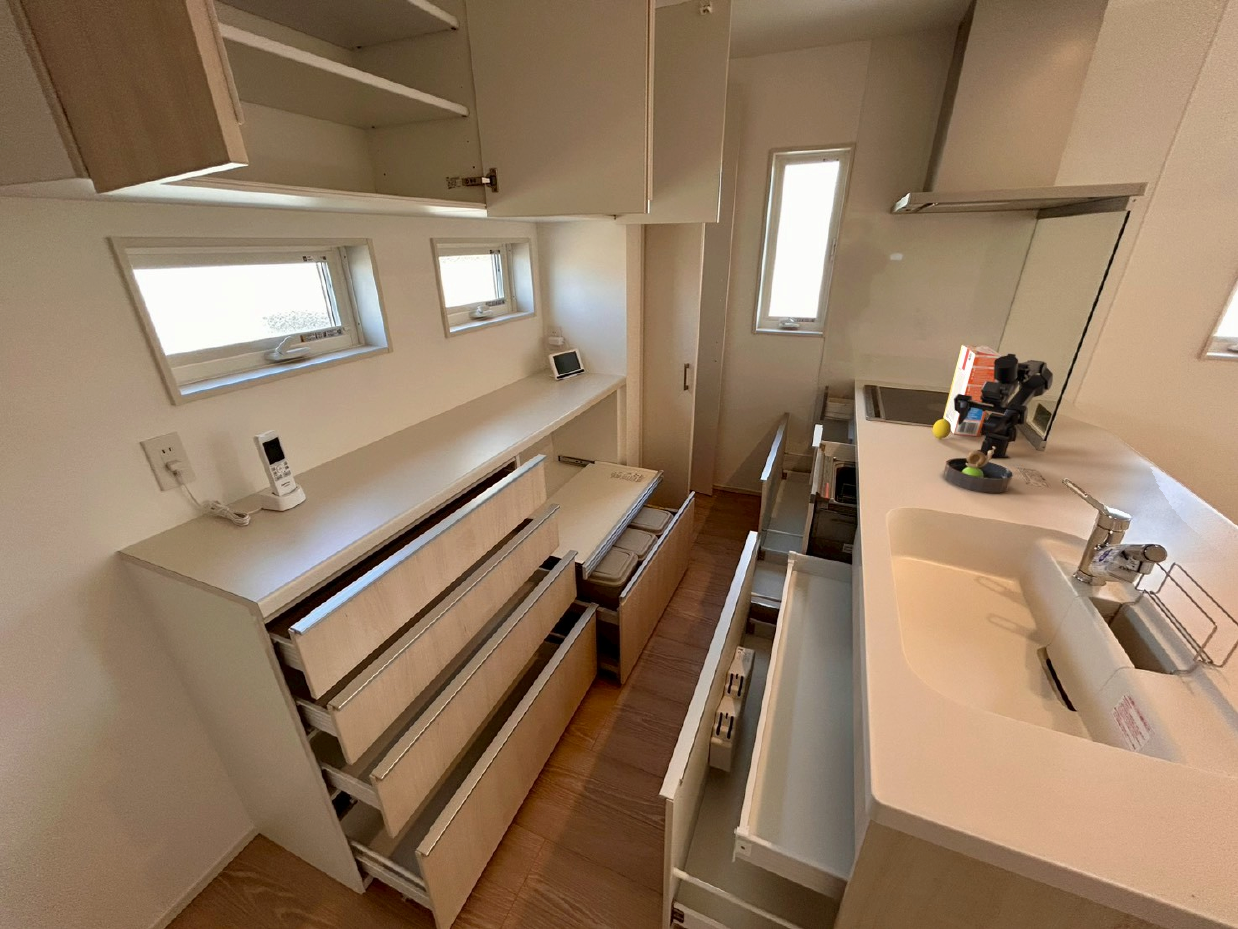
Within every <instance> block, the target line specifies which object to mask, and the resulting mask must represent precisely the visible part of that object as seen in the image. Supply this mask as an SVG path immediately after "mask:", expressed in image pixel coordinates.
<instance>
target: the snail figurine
mask: <svg viewBox="0 0 1238 929" xmlns="http://www.w3.org/2000/svg"><path fill="white" fill-rule="evenodd" d="M992 448H994V449H996V447H994V446H993V447H992ZM993 454H994V451H993V450H990V451H988V454H987V456H986V455H984V453H982V452H980V451H977V450H974V451H971V452H969V453H968V454H967V456H966V458H967V461H968V463H966V465H967V466H968V467H967V468H965V469H964V470H963V471H962V473H965V474H968V475H972V476H976V477H982V478H983V476H984V475H983V472H982V471H981V470H980V469H979V468H980V467H983V466H985V465H986V464H987V463H988V462H990V460H991V459H992V458H991V456H992V455H993Z"/></svg>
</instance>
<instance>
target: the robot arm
mask: <svg viewBox="0 0 1238 929" xmlns="http://www.w3.org/2000/svg"><path fill="white" fill-rule="evenodd" d="M994 379H996V380H995V382H990V381H986V382H985V383H984V385H983V387H982V389H981V392H982V395H981V397H980V400H982V401H981V402H979V401H973V400H972V396H969V395H963V394H958V395H956V397H955V398H954V409H955V411H957V412H958V413H959V414H960V416H959V421H958V425H960V424H961V423H962V422H963V421H964V420H965V418H966V417H967V416H968V412H970V410H971V408H976V409H981V410H982V411H986V413H990V414H989V416H988V417H986V418H984V421H983V424H982V427H981V431H980V436H981V437H984V440H983V441H982V444H981V446H980V449H977V450H976V451H980V452H982V453H984V455H985V457H986V456H987V454H988V451H990V450H993V451H994V454H993V455H992V456H991V458H990V459H1002V458H1003V459H1004V458H1005V459H1009V458H1010V456H1009V455H1008V454H1007V451H1008V447H1009V445H1010V443H1011V442H1016V440H1017V437H1018V425H1020V426H1022V425H1025V423H1026V422H1027V419H1028V413H1029V407H1028V405H1029V404H1030V402H1032V400H1033V399H1034V398H1037V397H1041V396H1043V395H1044V394H1045V393H1046V392H1047V391H1049V390H1050V389H1051V388H1052V385H1053V380H1054V372H1052V371H1051V370H1050V369H1049V368H1048V364H1047V362H1045V361H1044V360H1043V361H1041V360H1034V359H1031V360H1027V361H1024V362H1019V359H1018V358H1017V354H1015V353H1007V355H1002V357H999V358H997V359H996V360H995V361H994ZM1017 389H1018V391H1017V392H1016V390H1017ZM1013 395H1014V396H1013ZM1011 397H1012V398H1011ZM1010 398H1011V399H1010ZM993 446H994V447H996V449H994V448H992V447H993Z"/></svg>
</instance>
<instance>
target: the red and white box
mask: <svg viewBox="0 0 1238 929" xmlns="http://www.w3.org/2000/svg"><path fill="white" fill-rule="evenodd" d="M1002 356H1003V355H1002V354H1001V353H999V352H997V351H995V350H994V349H993V348H991V347H989V346H987V345H978V344H977V345H975V344H961V347H960V351H959V356H958V360H957V363H956V367H955V371H954V374H953V379H952V382H951V386H950V390H949V393H948V398H947V402H946V404H945V410H944V413H943V417H942V419H946V420H948V421H949V422H950V424H951V431H950V432H952V434H953V435H959V436H967V437H968V436H969V437H980V435H981V432H982V425H983V422H984V420H985V417H986V414H987V412H986V411H982V410H981V409H976V408H971V410H970V412H968V416H967V417H966V418H965V420H964V421H963V422H962V423H961V424H960V425H958V421H959V416H960V414H959V413H958V412H957V411H955V409H954V398H955V397H956V395H958V394H963V395H969V396H972V400H973V401H979V402H981V401H982V400H980V397H981V395H982V392H981V389H982V387H983V385H984V383H985V382H986V381H990V382H996V381H997V380H996V379H994V361H995V360H996V359H997V358H999V357H1002Z"/></svg>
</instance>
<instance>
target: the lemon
mask: <svg viewBox="0 0 1238 929" xmlns="http://www.w3.org/2000/svg"><path fill="white" fill-rule="evenodd" d="M951 432H952V431H951V424H950V422H949V421H948V420H946V419H944V418H941V419H938V420H937V421H935V423H934V424H933V426H932V434H933V436H934V437H936V438H937V440H942V439H945V438H947V437H948V436H949V435H950V433H951Z"/></svg>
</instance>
